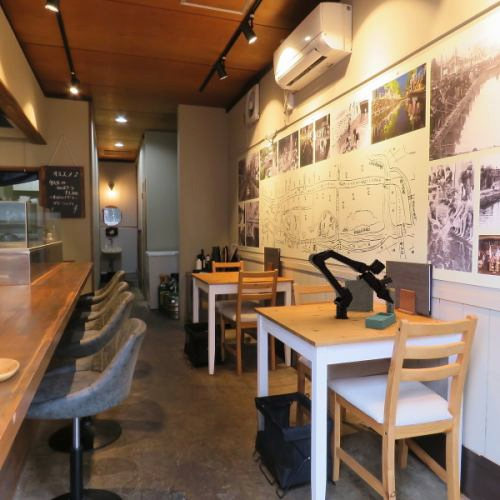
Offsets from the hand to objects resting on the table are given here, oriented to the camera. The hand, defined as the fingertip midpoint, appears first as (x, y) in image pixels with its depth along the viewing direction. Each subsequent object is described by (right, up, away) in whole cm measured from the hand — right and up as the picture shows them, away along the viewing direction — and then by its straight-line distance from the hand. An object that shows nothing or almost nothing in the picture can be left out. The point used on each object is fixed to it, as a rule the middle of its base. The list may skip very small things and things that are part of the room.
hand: (393, 302), depth 214 cm
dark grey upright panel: (-13, -7, +20) cm, 25 cm away
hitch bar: (-11, -9, -14) cm, 20 cm away
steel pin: (-1, -7, +1) cm, 7 cm away
